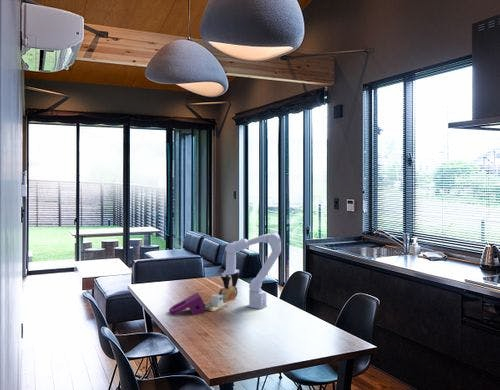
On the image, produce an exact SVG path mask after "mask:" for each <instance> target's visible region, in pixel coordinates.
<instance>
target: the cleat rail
mask: <svg viewBox="0 0 500 390" xmlns="http://www.w3.org/2000/svg"><path fill="white" fill-rule="evenodd" d="M203 303H204V302H203ZM228 304H229V303H228V302H223V305H222V306H219V307H217V306H212V305H211V300H210V301H207V302H205V303H204V305H205V309H204V311H210V312H214V311H215V312H216V311H218V310H219V309H222V308H225V307H228Z"/></svg>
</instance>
